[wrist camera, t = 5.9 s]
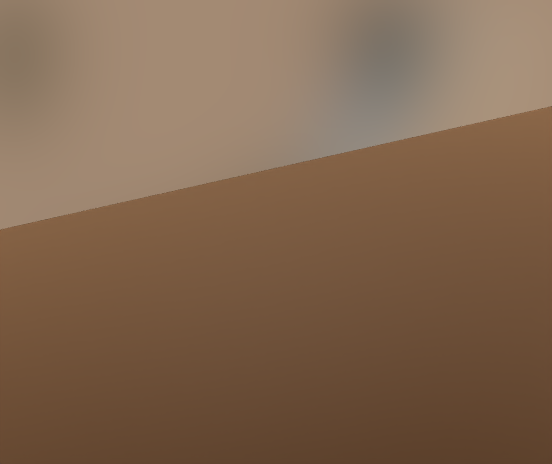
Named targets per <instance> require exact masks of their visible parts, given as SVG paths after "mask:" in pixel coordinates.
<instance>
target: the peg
mask: <svg viewBox="0 0 552 464" xmlns="http://www.w3.org/2000/svg"><path fill="white" fill-rule="evenodd" d="M0 464H552V106H551V107H547V108H542V109H538V110H534V111H529V112H524V113H520V114H515V115H511V116H506V117H502V118H497V119H493V120H488V121H484V122H480V123H475V124H471V125H466V126H462V127H457V128H453V129H448V130H444V131H439V132H435V133H431V134H426V135H421V136H417V137H412V138H408V139H404V140H399V141H395V142H390V143H386V144H381V145H377V146H372V147H368V148H364V149H359V150H354V151H350V152H345V153H341V154H337V155H332V156H327V157H323V158H319V159H315V160H310V161H305V162H301V163H296V164H292V165H287V166H283V167H278V168H274V169H269V170H265V171H261V172H256V173H251V174H247V175H243V176H238V177H234V178H229V179H225V180H221V181H216V182H211V183H207V184H202V185H198V186H194V187H189V188H184V189H180V190H175V191H171V192H167V193H162V194H157V195H153V196H149V197H144V198H140V199H135V200H131V201H126V202H122V203H117V204H113V205H109V206H104V207H100V208H95V209H90V210H86V211H81V212H77V213H73V214H68V215H64V216H59V217H55V218H50V219H46V220H41V221H37V222H32V223H28V224H23V225H19V226H14V227H10V228H6V229H1V230H0Z"/></svg>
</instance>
